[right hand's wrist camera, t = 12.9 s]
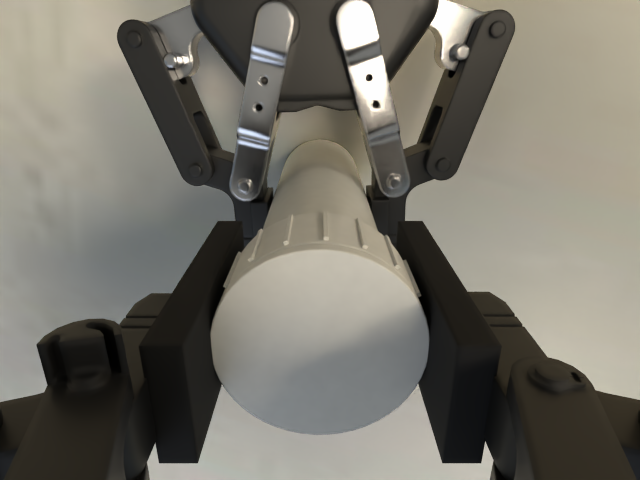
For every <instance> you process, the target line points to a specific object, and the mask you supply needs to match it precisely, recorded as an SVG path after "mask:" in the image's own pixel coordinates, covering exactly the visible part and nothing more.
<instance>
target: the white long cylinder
mask: <svg viewBox="0 0 640 480" xmlns="http://www.w3.org/2000/svg"><path fill="white" fill-rule="evenodd" d="M323 211H327V213H333V214H340V215H344V216H348V217H351V218H354V219H357V217H358V218H360V219H361V220H362V222H363V223H365V224H367V225H369V226H371V227H373V228H374V229H375V230H377V227H376V224H375V221H374V218H373V215H372V212H371V209H370V206H369V203H368V200H367V197H366V194H365V191H364V188H363V185H362V182H361V180H360V177H359V174H358V171H357V168H356V165H355V162H354V160H353V158H352V156H351V155H350V154H349V152H348V151H347V150H346V149H345V148H343V147H342V146H341V145H339V144H337V143H335V142H332V141H329V140H323V139H318V140H311V141H308V142H305V143H303V144H301V145H300V146H298V147H297V148H296V149H294V151H293V152H292V153H291V154H290V155H289V157H288V159H287V160H286V163H285V165H284V168H283V171H282V174H281V177H280V180H279V183H278V186H277V189H276V192H275V195H274V198H273V201H272V204H271V207H270V210H269V212H268V215H267V218H266V221H265V224H264V227H263V230H264V229H266V228H267V227H269V226H271V225H273V224H274V223H276V222H278V221H281V220H283V219H286V218H288V215H291V214H292V215H293V216H296V215H300V214H307V213H323ZM377 231H378V230H377Z"/></svg>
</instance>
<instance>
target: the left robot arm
mask: <svg viewBox="0 0 640 480" xmlns="http://www.w3.org/2000/svg"><path fill="white" fill-rule="evenodd" d="M427 29H429V30H430V31H431V32H432V33H433V34H434V37H435V40H436V47H435V52H434V58H435V61H436V63H437V65H438V66H439V67H440V68H442V69H444V72H443V75H442V78H441V80H440V83H439V86H438V88H437V91H436V94H435V96H434V99H433V102H432V104H431V107H430V110H429V113H428V115H427V118H426V121H425V123H424V126H423V129H422V131H421V134H420V137H419V139H418V142H417V144H416V145H413V146H411V147H408V148H406V149H403V146H402V142H401V138H400V128H399V123H398V118H397V114H396V110H395V106H394V102H393V98H392V94H391V89H390V85H389V83H390V82H391V80H392V79H393V77H394V76H395V74H396V73H397V72H398V70H399V69H400V67H401V66H402V64H403V63H404V62H405V60H406V59H407V57H408V56H409V55H410V53H411V52H412V50H413V49H414V47H415V46H416V45H417V43H418V42H419V40H420V39H421V37H422V36H423V35H424V33H425V32H426V30H427ZM514 31H515V22H514V19H513V17H512V16H511V14H510V13H509V12H507V11H505V10H494V11H488V12H481V11H478V10H475V9H472V8H469V7H466V6H464V5H461V4H458V3H455V2H452V1H449V0H191V5H189V6H187V7H184V8H182V9H179V10H177V11H175V12H172V13H170V14H167V15H165V16H162V17H160V18H158V19H155V20H153V21H150V22H143V21H139V20H127V21H125V22H124V23H122V24H121V26H120V27H119V29H118V33H117V40H118V44H119V46H120V48H121V50H122V52H123V54H124V56H125V59H126V61H127V63H128V65H129V67H130V69H131V71H132V73H133V75H134V77H135V80H136V82H137V84H138V86H139V88H140V90H141V92H142V94H143V96H144V98H145V100H146V103H147V105H148V107H149V109H150V111H151V113H152V115H153V117H154V119H155V121H156V124H157V126H158V128H159V130H160V132H161V134H162V136H163V138H164V140H165V142H166V144H167V147H168V149H169V151H170V153H171V155H172V157H173V159H174V161H175V163H176V165H177V168H178V170H179V172H180V174H181V176H182V178H183V179H184V180H185V181H186V182H187V183H189V184H191V185H194V186H201V185H207V186H211V187H214V188H217V189H220V190H222V191H224V192H225V193H227V194H228V195H229V196H230V198H231V199H232V201H233V204H234V211H235V221H242V223H243V238H244V249H245V247H246V246H247V245H248V243H249V242H250V241H251V240H252V239H253V238H254V237H255V236H256V235H257V233H258V231H259V230H260V229H262V230H263V227H264V224H265V221H266V218H267V215H268V212H269V210H270V207H271V204H272V201H273V188H267V175H268V170H269V166H270V161H271V156H272V152H273V147H274V142H275V138H276V134H277V131H278V127H279V122H280V118H281V113H282V112H297V111H300V110H303V109H307V108H310V107H313V106H323V107H327V108H331V109H335V110H339V111H345V110H355V113H356V116H357V120H358V123H359V127H360V130H361V133H362V136H363V140H364V144H365V147H366V151H367V155H368V158H369V162H370V166H371V169H372V185H367V186H366V197H367V200H368V203H369V206H370V209H371V212H372V215H373V218H374V221H375V224H376V227H377V230H378V232H380V233H381V234H382V235H383V236H385V235H387V236H388V237H389V239H390V241H391V244H392V245H393V246H394V247H395V249H396V242H397V227H398V221H405V203H406V198H407V195H408V194H409V192H410V191H411V190H412V189H413V188H414V187H416V186H417V185H419V184H422V183H425V182H427V181H430V180H433V179H436V180H447V179H449V178H451V177H452V176H453V175H454V174H455V173H456V172H457V170H458V168H459V165H460V163H461V160H462V158H463V156H464V153H465V151H466V148H467V146H468V143H469V141H470V139H471V136H472V134H473V131H474V129H475V127H476V124H477V122H478V119H479V117H480V115H481V112H482V110H483V107H484V105H485V102H486V100H487V98H488V95H489V93H490V90H491V88H492V86H493V83H494V81H495V78H496V76H497V73H498V71H499V69H500V66H501V64H502V61H503V59H504V57H505V54H506V52H507V49H508V47H509V44H510V42H511V40H512V37H513V35H514ZM203 36H205V37H206V38H207V40H208V41H209V42H210V43H211V45H212V46H213V47H214V48H215V50H216V51H217V52H218V54H219V55H220V56H221V57H222V59H223V60H224V61H225V62H226V64H227V65H228V66H229V68H230V69H231V70H232V71H233V73H234V74H235V75H236V76H237V78H238V79H239V80H240V82H241V83H242V84H243V85H244V87H245V89H244V95H243V100H242V106H241V111H240V117H239V122H238V128H237V144H236V149H235V154H234V153H231V152H228V151H225V150H222V148H221V146H220V144H219V141H218V139H217V137H216V135H215V132H214V130H213V128H212V125H211V123H210V121H209V118H208V116H207V114H206V111H205V109H204V107H203V105H202V102H201V100H200V98H199V95H198V93H197V91H196V88H195V86H194V84H193V82H192V79H191V76H193V75H194V74H195V73H196V72H197V70H198V68H199V56H198V52H197V47H198V43H199V41H200V39H201V38H202V37H203Z"/></svg>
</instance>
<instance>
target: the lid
mask: <svg viewBox="0 0 640 480" xmlns="http://www.w3.org/2000/svg"><path fill="white" fill-rule="evenodd" d="M223 287H225V290H224V292H223V295H222V297H221V300H220V302H219V304H218V307H217V309H216V312H215V315H214V318H213V321H212V326H211V331H210V337H211V348H212V357H213V365H214V368H215V371H216V373H217V375H218V378H219V380H220V381H221V383H222V385H223V386H224V388H225V389H226V391H227V392H228V393H229V394H230V396H231V397H232V398H233V399H234V400H235V401H236V402H237V403H238V404H239V405H240V406H241V407H242V408H243V409H245V410H246V411H247V412H249V413H250V414H252V415H253V416H255V417H256V418H258V419H260V420H262V421H263V422H266V423H268V424H270V425H273V426H275V427H278V428H281V429H284V430H287V431H292V432H297V433H303V434H314V435H322V434H336V433H343V432H348V431H352V430H356V429H359V428H362V427H365V426H367V425H370V424H372V423H374V422H376V421H378V420H380V419H382V418H383V417H385V416H387V415H388V414H390V413H391V412H392V411H394V410H395V409H396V408H398V407H399V406H400V405H401V404H402V403H403V402H404V401H405V400H406V399H407V398H408V397H409V395H410V394H411V393H412V392H413V390H414V389H415V388H416V386H417V384H418V383H419V381H420V379H421V377H422V375H423V372H424V370H425V368H426V364H427V359H428V350H429V339H430V335H429V327H428V323H427V318H426V316H425V313H424V311H423V308H422V305H421V303H420V301H419V298H418V297H420V296H421V293H420V291H419V289H418V286H417V284H416V282H415V279H414V277H413V275H412V272H411V270H410V268H409V265H408V263H407V261H406V260H402V258H401V256H400V255H399V253H398V251H397V250H396V249H395V247H394V246H393V245H392V244H391V241H390V239H389V237H388V236H387V235H385V236H383V235H382V234H381V233H380V232H378V231H377V230H375V229H374V228H373V227H371V226H369V225H367V224H365V223H363V222H362V220H361V219H360V218H358V217H357V219H354V218H351V217H348V216H344V215H340V214H333V213H327V211H323V213H307V214H300V215H296V216H293V215H292V214H291V215H288V218H286V219H283V220H281V221H278V222H276V223H274V224H273V225H271V226H269V227H267V228H266V229H264V230H262V229H260V230H259V231H258V233H257V235H256V236H255V237H254V238H253V239H252V240H251V241H250V242H249V243H248V245H247V246H246V247H245V249H244V250H243V251H242V253H241V252H238V253H237V255H236V258H235V260H234V262H233V265H232V267H231V269H230V272H229V274H228V276H227V279H226V281H225V283H224V286H223Z"/></svg>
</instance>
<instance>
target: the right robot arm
mask: <svg viewBox="0 0 640 480" xmlns="http://www.w3.org/2000/svg"><path fill="white" fill-rule="evenodd" d="M243 250H244V238H243V223H242V221H218V222H217V223H216V225H215V226H214V228H213V230H212V231H211V233H210V234H209V236H208V237H207V239H206V241H205V242H204V244H203V245H202V247H201V248H200V250H199V252H198V253H197V255H196V256H195V258H194V259H193V261H192V263H191V264H190V266H189V267H188V269H187V270H186V272H185V274H184V275H183V277H182V278H181V280H180V282H179V283H178V285H177V286H176V288H175V289H174V291H173V293H151V294H150V295H148V296H147V297H145V298H143V299H142V300H140V301H139V302H137V303H136V304H135V305H134V306H133V307H132V309H131V310H130V311H129V313H128V314H127V315H126V318H124V319H123V320H122V322H121V323H120V324H119V325H118V324H117V323H116V322H115V321H111V320H106V319H87V320H82V321H77V322H72V323H70V324H67V325H64V326H62V327H59V328H57V329H55V330H54V331H52V332H50V333H49V334H47V335H45V336H44V337H43V338H42V339H41V340H40V342H39V343H38V344H37V348H38V352H39V356H40V359H41V363H42V367H43V370H44V374H45V377H46V381H47V385H48V386H47V388H46V390H45V392H44V393H41V394H37V395H33V396H28V397H23V398H18V399H14V400H9V401H4V402H0V480H150V479H149V471H148V466H147V460H148V458H149V456H150V453H151V451H152V449H153V447H154V444H155V442H156V448H157V454H158V459H159V463H198V461H199V457H200V454H201V451H202V448H203V444H204V441H205V438H206V434H207V431H208V428H209V424H210V421H211V418H212V415H213V411H214V408H215V405H216V401H217V398H218V395H219V391H220V388H221V385H222V383H221V381H220V380H219V378H218V375H217V373H216V371H215V368H214V365H213V357H212V348H211V337H210V331H211V326H212V321H213V318H214V315H215V312H216V309H217V307H218V304H219V302H220V300H221V297H222V295H223V292H224V290H225V287H223V286H224V283H225V281H226V279H227V276H228V274H229V272H230V269H231V267H232V265H233V262H234V260H235V258H236V255H237V253H238V252H241V253H242V251H243ZM396 250H397V251H398V253H399V255H400V256H401V258H402V260H406V261H407V263H408V265H409V268H410V270H411V272H412V275H413V277H414V279H415V282H416V284H417V286H418V289H419V291H420V293H421V296H420V297H418V298H419V301H420V303H421V305H422V308H423V311H424V313H425V316H426V318H427V323H428V327H429V335H430V339H429V350H428V359H427V364H426V368H425V370H424V372H423V375H422V377H421V379H420V381H419V383H418V384H419V387H420V391H421V394H422V397H423V400H424V404H425V407H426V410H427V414H428V417H429V420H430V424H431V427H432V430H433V433H434V437H435V440H436V443H437V447H438V450H439V453H440V457H441V460H442V463H481V461H482V455H483V450H484V444H485V441H486V444H487V446H488V448H489V450H490V453H491V455H492V457H493V460H494V461H493V466H492V471H491V477H490V480H640V400H636V399H632V398H627V397H622V396H617V395H612V394H607V393H603V392H600V391H596V390H595V389H594V387H593V385H592V383H591V382H590V381H589V380H588V378H587V377H586V376H585V375H584V374H583V373H582V372H580V371H579V370H577V369H576V368H575V367H573V366H571V365H569V364H566V363H564V362H562V361H560V360H556V359H552V358H548V357H547V356H546V355H545V353H544V352H543V351H542V349H541V348H540V347H539V346H538V344H537V343H536V342H535V340H534V339H533V338H532V336H531V335H530V334H529V333H528V331H527V330H526V329H525V327H522V323H521V322H520V321H519V319H518V318H517V317H515V314H514V313H513V312H512V310H511V309H510V308H509V306H508V305H507V304H506V302H504V301H503V300H501V299H499V298H498V297H496V296H495V295H493V294H492V293H490V292H467V290H466V289H465V287H464V286H463V284H462V283H461V281H460V279H459V278H458V276H457V275H456V273H455V272H454V270H453V268H452V267H451V265H450V264H449V262H448V261H447V259H446V257H445V256H444V254H443V253H442V251H441V250H440V248H439V246H438V245H437V243H436V242H435V240H434V239H433V237H432V235H431V234H430V232H429V231H428V229H427V227H426V226H425V224H424V223H423V221H398V227H397V242H396Z"/></svg>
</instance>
